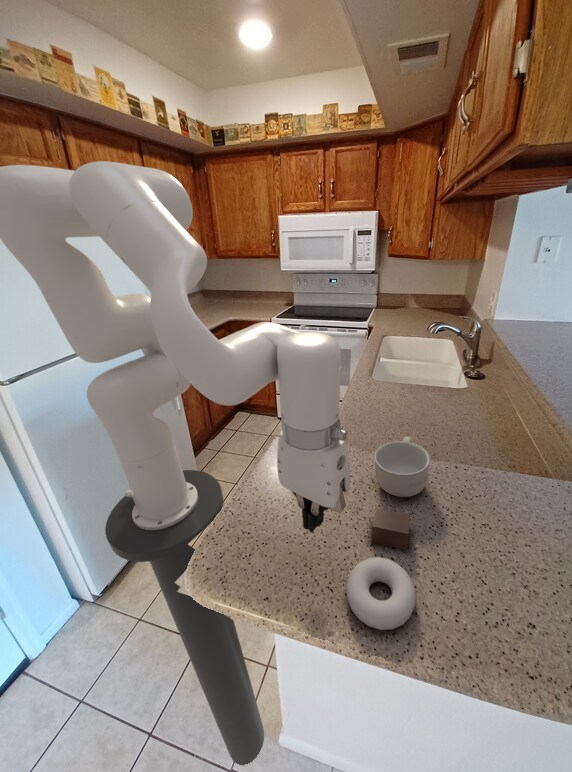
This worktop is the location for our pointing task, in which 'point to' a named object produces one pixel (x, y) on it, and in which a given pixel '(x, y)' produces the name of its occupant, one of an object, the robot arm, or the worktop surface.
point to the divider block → (390, 529)
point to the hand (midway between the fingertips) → (313, 523)
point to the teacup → (402, 467)
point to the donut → (378, 611)
